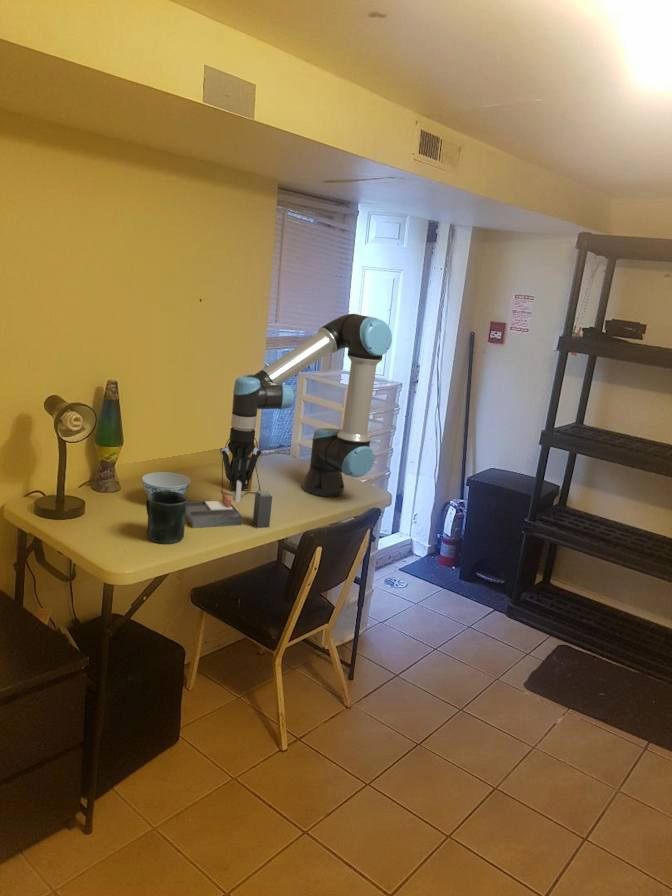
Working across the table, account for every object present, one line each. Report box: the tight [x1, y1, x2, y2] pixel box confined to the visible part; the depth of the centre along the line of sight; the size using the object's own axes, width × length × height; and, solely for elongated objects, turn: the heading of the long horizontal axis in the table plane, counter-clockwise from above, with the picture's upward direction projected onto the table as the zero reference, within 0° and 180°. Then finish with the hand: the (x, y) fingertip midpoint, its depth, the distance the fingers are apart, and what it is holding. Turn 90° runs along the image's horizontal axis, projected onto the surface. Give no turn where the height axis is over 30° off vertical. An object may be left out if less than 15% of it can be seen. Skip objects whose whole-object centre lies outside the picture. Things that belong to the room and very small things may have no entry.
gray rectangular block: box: [252, 490, 273, 529], centre depth 212 cm, size 4×4×11 cm
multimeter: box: [221, 437, 261, 498], centre depth 238 cm, size 15×10×20 cm
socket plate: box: [185, 499, 243, 529], centre depth 214 cm, size 15×14×4 cm
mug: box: [145, 491, 189, 545], centre depth 196 cm, size 11×15×12 cm
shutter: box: [204, 493, 233, 510], centre depth 215 cm, size 7×7×3 cm
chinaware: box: [141, 471, 191, 496], centre depth 222 cm, size 15×15×8 cm
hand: (236, 500), depth 218 cm, fingers closed
